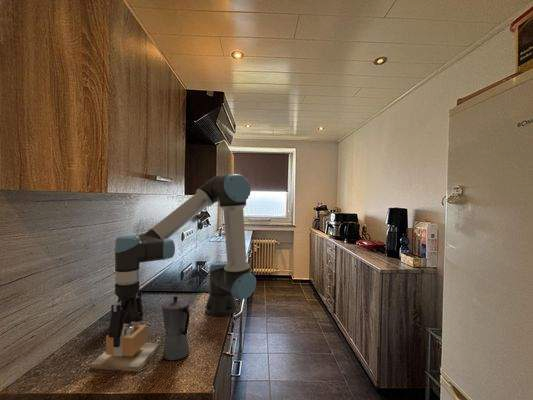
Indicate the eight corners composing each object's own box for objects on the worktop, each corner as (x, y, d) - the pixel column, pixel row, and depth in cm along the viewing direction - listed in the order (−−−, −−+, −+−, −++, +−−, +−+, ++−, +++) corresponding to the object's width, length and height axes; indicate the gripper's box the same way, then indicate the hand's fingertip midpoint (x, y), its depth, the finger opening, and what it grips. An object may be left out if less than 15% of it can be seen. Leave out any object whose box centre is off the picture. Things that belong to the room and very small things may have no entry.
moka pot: (176, 341, 107) (177, 289, 106) (202, 356, 97) (202, 299, 97) (153, 352, 99) (153, 296, 99) (178, 369, 90) (178, 307, 89)
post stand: (117, 344, 104) (117, 316, 104) (159, 347, 102) (159, 319, 102) (90, 368, 90) (90, 335, 90) (138, 371, 88) (138, 338, 88)
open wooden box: (122, 340, 101) (122, 323, 101) (146, 341, 100) (146, 325, 100) (106, 354, 92) (106, 336, 92) (132, 356, 91) (132, 338, 91)
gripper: (134, 272, 107) (134, 331, 107) (94, 292, 85) (94, 365, 86) (153, 273, 106) (153, 332, 106) (118, 293, 84) (117, 367, 85)
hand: (127, 347), depth 96 cm, fingers closed on open wooden box, 9 cm apart
